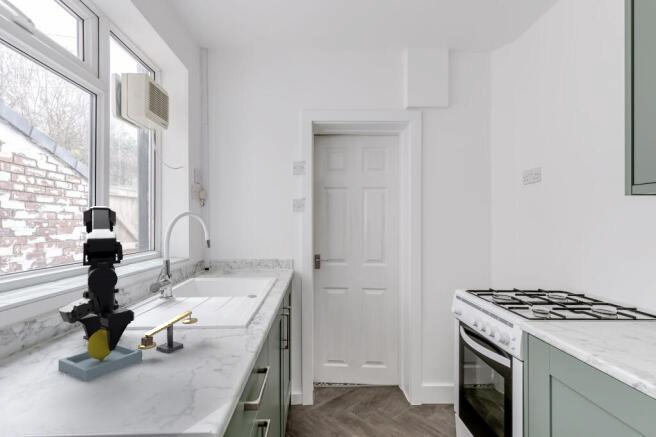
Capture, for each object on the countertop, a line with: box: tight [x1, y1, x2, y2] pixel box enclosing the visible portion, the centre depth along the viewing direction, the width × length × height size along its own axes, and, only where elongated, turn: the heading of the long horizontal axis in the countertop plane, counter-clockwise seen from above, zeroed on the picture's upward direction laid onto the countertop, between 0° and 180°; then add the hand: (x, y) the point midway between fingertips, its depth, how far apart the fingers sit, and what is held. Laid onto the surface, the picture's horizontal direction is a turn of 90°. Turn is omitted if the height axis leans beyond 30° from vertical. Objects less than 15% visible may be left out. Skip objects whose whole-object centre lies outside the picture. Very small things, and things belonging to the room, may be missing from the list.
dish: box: [57, 343, 143, 383], centre depth 83 cm, size 13×13×2 cm
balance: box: [137, 310, 199, 354], centre depth 93 cm, size 5×18×9 cm, turn 152°
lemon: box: [86, 329, 112, 361], centre depth 83 cm, size 6×6×8 cm
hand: (101, 347), depth 83 cm, fingers open, 9 cm apart
